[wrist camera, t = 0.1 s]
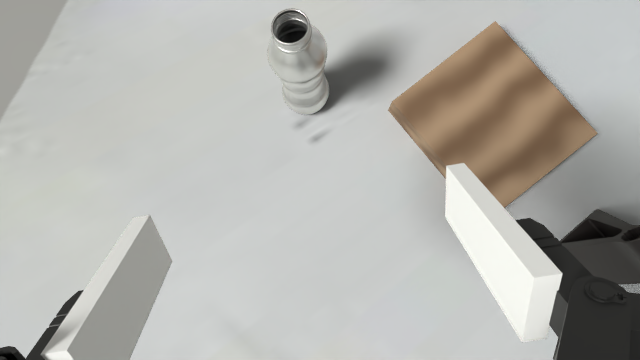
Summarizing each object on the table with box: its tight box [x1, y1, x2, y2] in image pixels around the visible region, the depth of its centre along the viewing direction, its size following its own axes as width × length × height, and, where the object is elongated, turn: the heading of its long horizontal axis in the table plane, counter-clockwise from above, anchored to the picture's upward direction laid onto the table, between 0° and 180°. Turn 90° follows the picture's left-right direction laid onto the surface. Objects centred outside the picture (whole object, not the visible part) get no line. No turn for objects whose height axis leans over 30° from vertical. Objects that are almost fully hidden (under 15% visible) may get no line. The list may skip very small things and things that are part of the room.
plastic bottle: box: [267, 9, 329, 115], centre depth 44 cm, size 6×7×20 cm
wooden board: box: [388, 21, 597, 208], centre depth 50 cm, size 20×18×4 cm
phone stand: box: [560, 210, 640, 284], centre depth 44 cm, size 9×6×12 cm, turn 130°
